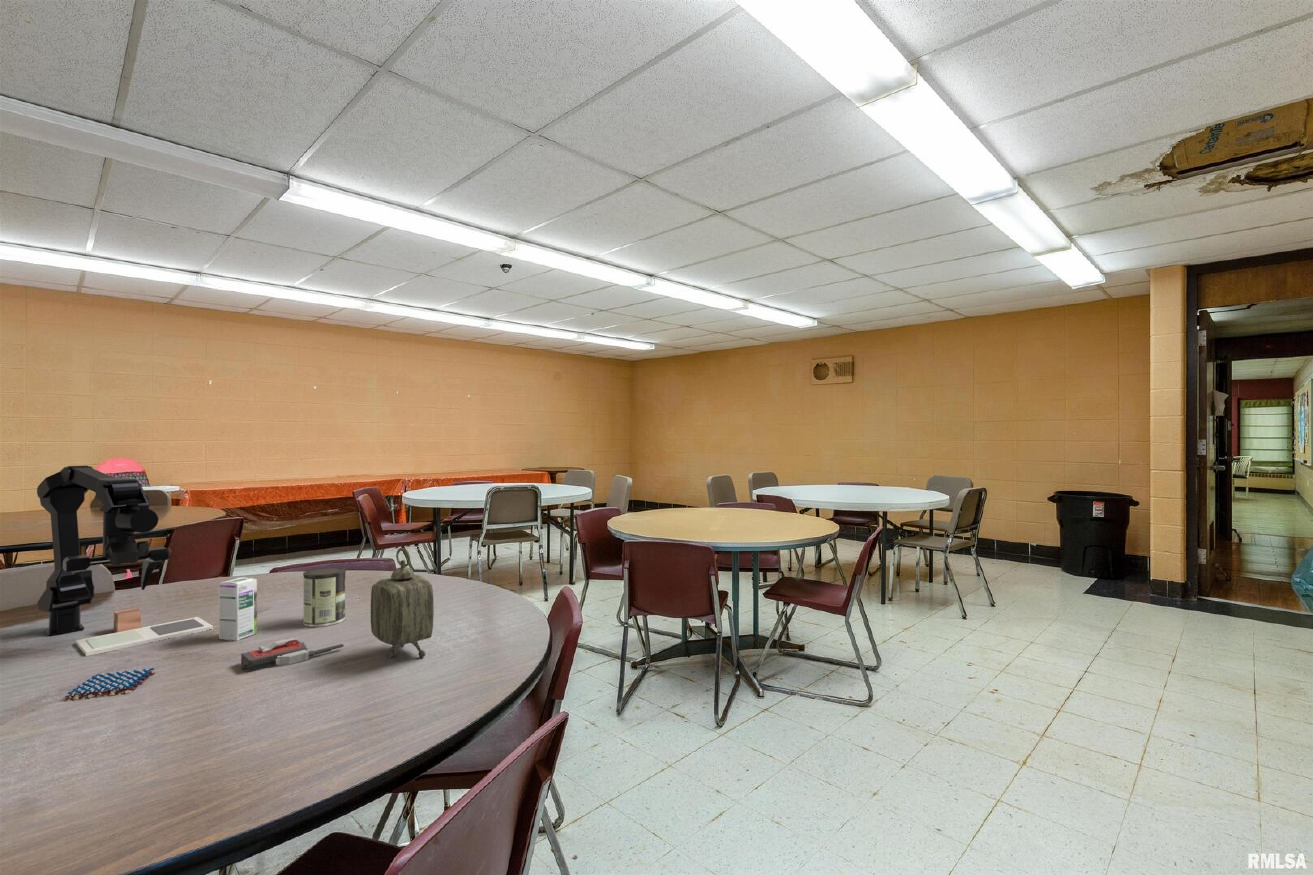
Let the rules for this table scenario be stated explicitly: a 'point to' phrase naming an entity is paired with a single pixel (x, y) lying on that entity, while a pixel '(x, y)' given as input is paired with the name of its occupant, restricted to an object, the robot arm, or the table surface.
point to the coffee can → (324, 596)
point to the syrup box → (237, 608)
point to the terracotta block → (127, 620)
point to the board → (141, 635)
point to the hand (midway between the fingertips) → (118, 593)
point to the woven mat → (110, 684)
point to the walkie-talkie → (280, 654)
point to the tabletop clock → (402, 608)
